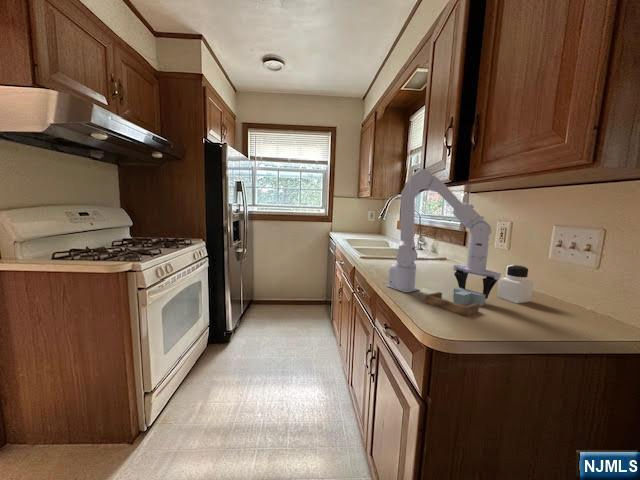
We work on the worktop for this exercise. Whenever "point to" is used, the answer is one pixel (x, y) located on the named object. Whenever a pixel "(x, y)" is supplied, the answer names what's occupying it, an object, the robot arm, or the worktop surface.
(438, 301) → the walnut cradle
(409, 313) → the worktop surface
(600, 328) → the worktop surface
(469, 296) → the t block
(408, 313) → the worktop surface
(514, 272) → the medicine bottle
